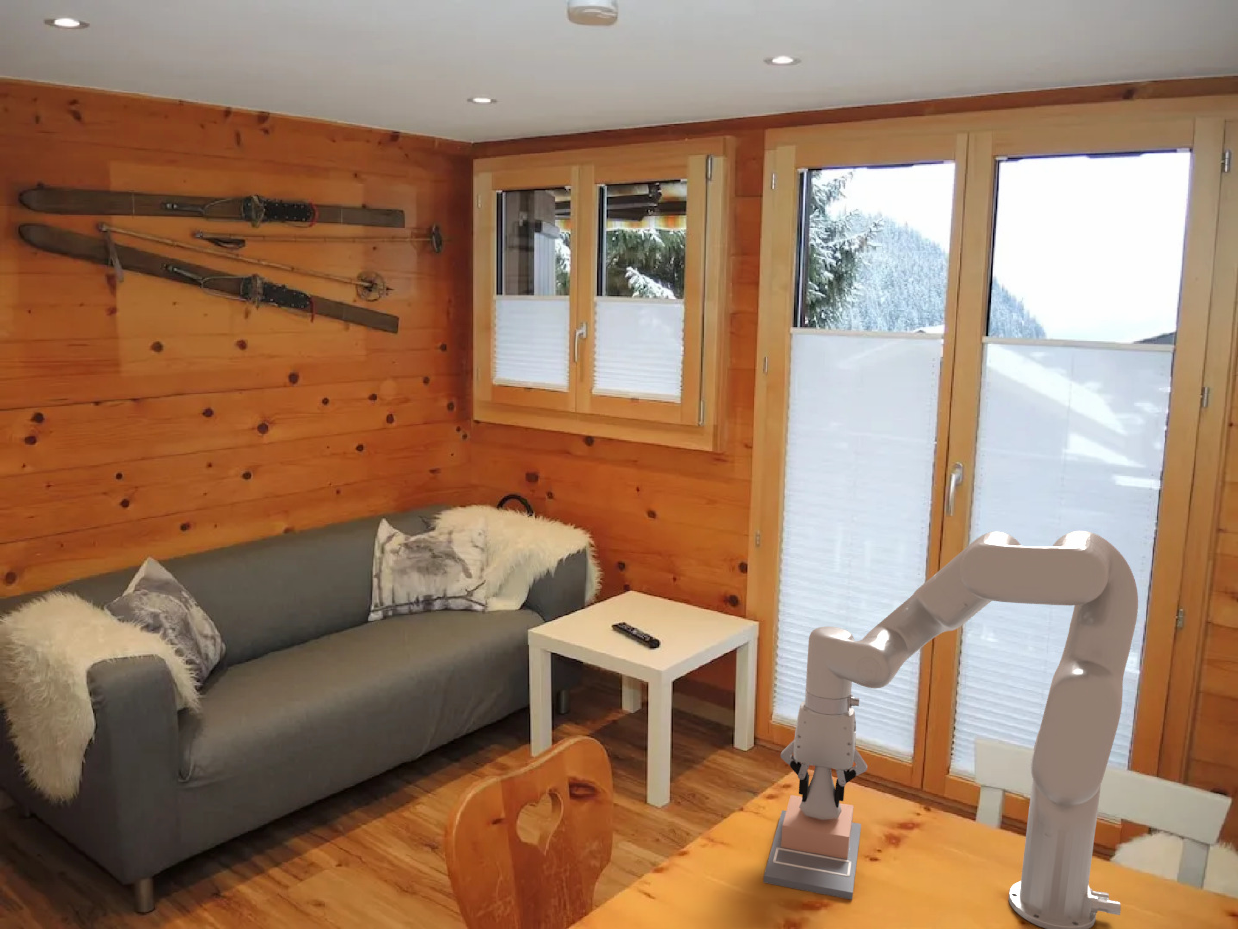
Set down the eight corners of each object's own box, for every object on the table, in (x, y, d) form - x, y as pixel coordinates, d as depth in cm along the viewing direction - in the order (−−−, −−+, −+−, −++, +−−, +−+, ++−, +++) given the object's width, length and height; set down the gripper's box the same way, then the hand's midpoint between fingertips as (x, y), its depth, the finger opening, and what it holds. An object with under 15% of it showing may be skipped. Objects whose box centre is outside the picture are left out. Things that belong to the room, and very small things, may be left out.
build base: (860, 830, 180) (862, 803, 180) (852, 899, 160) (854, 869, 159) (781, 816, 184) (783, 789, 183) (763, 882, 164) (765, 853, 163)
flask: (797, 798, 179) (800, 745, 177) (839, 801, 178) (842, 748, 176) (800, 819, 171) (804, 764, 170) (844, 823, 171) (848, 767, 169)
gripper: (880, 699, 172) (872, 799, 176) (780, 686, 177) (774, 783, 180) (878, 717, 165) (870, 820, 168) (774, 702, 170) (768, 803, 173)
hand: (820, 800), depth 174 cm, fingers closed on flask, 4 cm apart
